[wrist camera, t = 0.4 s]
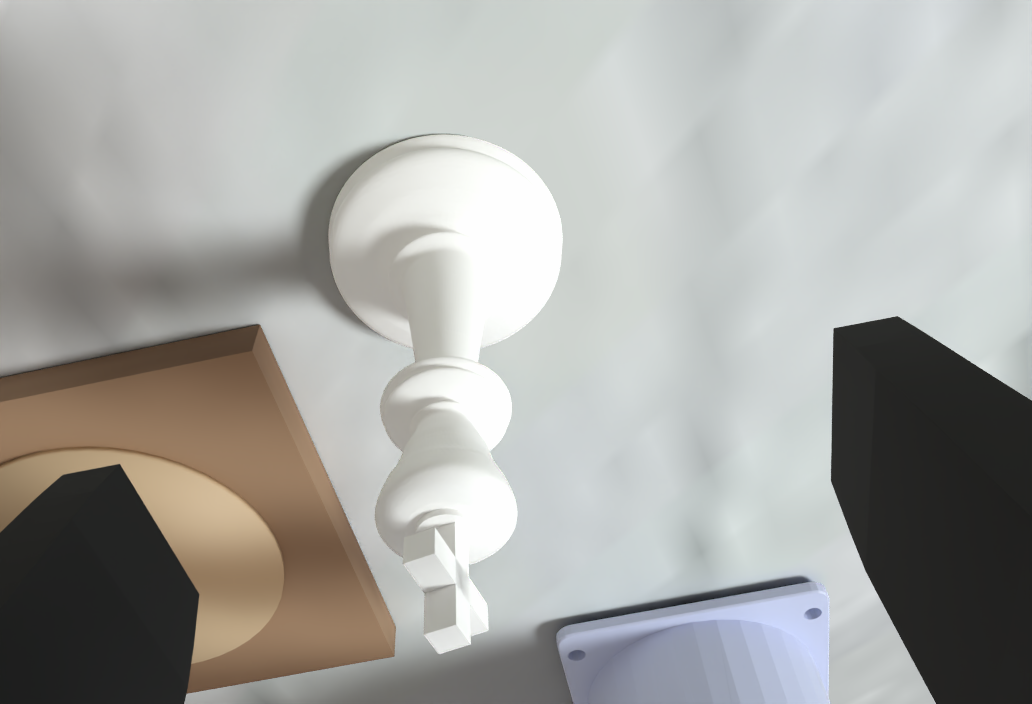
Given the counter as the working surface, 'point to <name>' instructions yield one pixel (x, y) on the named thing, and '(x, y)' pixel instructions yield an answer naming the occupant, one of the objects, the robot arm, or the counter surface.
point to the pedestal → (211, 496)
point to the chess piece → (445, 344)
